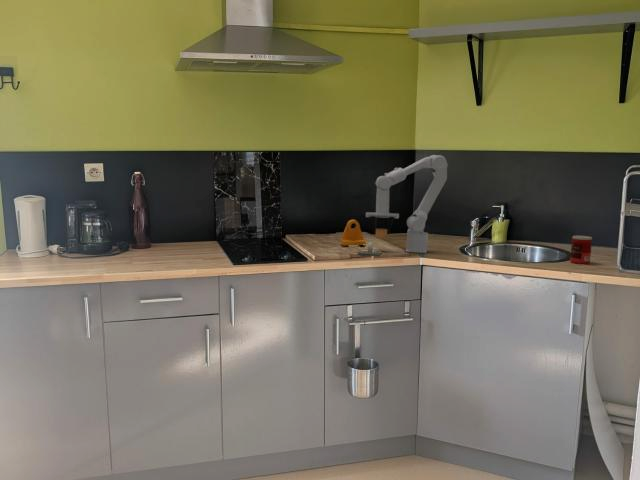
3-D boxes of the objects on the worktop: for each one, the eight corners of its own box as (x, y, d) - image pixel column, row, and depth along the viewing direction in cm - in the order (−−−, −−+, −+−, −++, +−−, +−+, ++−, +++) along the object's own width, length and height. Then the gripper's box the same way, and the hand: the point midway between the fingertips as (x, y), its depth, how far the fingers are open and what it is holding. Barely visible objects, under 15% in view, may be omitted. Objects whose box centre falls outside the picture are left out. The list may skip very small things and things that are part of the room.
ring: (388, 236, 276) (388, 229, 275) (386, 238, 271) (386, 230, 270) (376, 236, 277) (376, 228, 276) (374, 237, 272) (375, 229, 271)
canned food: (589, 262, 260) (592, 236, 258) (589, 265, 252) (592, 238, 251) (570, 260, 263) (572, 234, 261) (569, 263, 255) (571, 237, 254)
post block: (381, 252, 271) (382, 241, 270) (378, 256, 262) (379, 244, 261) (361, 251, 273) (361, 240, 272) (357, 254, 264) (358, 243, 263)
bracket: (342, 247, 284) (343, 221, 282) (340, 244, 291) (341, 219, 289) (365, 247, 285) (366, 221, 283) (363, 244, 292) (364, 219, 290)
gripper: (364, 203, 269) (364, 234, 272) (398, 204, 266) (396, 235, 268) (367, 202, 276) (366, 232, 278) (399, 203, 273) (398, 233, 275)
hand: (381, 233), depth 274 cm, fingers closed on ring, 5 cm apart
